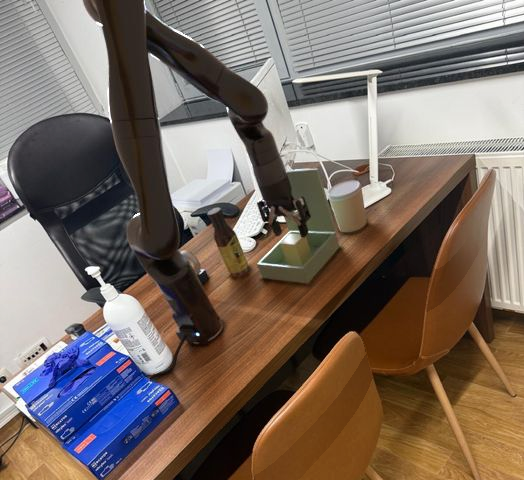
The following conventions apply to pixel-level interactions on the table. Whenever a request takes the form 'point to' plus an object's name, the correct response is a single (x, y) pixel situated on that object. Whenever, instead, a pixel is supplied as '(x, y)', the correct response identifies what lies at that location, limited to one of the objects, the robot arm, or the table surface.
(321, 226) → the lid
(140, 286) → the table surface
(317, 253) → the box
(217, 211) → the sauce bottle
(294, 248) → the block
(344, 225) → the coffee cup
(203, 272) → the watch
